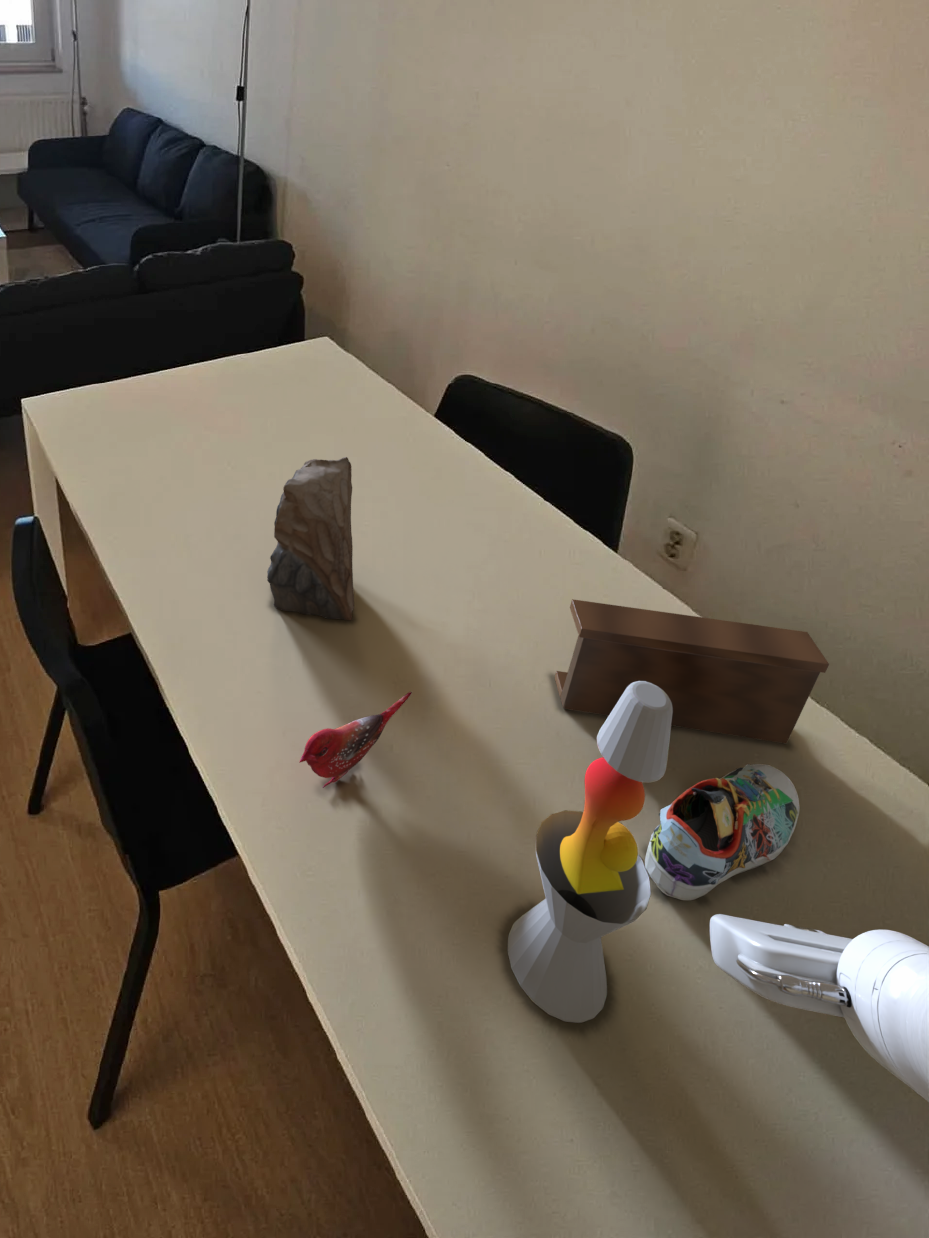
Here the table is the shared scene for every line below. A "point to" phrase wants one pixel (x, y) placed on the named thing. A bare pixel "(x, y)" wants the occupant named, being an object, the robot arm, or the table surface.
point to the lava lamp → (592, 864)
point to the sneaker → (721, 830)
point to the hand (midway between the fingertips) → (801, 937)
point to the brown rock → (314, 542)
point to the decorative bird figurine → (345, 744)
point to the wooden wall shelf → (693, 668)
